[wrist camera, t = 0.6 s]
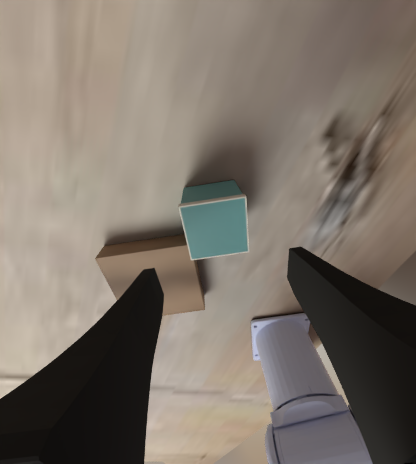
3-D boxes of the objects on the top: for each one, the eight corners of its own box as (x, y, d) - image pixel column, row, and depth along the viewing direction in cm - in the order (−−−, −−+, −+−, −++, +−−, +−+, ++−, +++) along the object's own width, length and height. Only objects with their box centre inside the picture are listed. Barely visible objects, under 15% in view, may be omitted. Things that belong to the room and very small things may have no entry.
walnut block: (204, 293, 25) (204, 309, 23) (133, 303, 25) (127, 320, 23) (191, 231, 21) (190, 244, 18) (105, 244, 21) (95, 258, 19)
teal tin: (238, 225, 20) (249, 252, 16) (192, 232, 20) (190, 260, 16) (235, 178, 18) (246, 196, 14) (182, 186, 18) (178, 206, 14)
